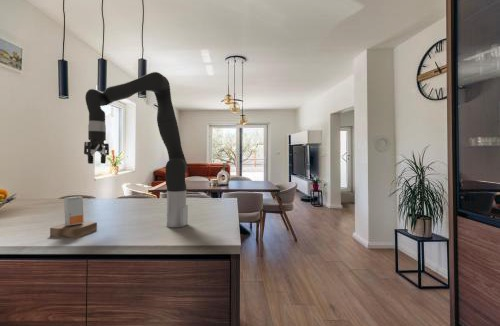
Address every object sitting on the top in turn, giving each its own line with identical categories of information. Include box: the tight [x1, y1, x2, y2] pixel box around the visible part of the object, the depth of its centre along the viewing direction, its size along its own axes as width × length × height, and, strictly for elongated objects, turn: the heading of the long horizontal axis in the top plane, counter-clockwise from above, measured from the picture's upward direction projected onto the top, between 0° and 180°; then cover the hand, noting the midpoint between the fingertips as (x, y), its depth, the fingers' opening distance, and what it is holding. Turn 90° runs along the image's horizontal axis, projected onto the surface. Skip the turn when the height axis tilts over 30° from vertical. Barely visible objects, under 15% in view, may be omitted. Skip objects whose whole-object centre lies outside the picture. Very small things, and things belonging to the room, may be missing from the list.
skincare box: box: [63, 195, 85, 226], centre depth 115 cm, size 6×4×12 cm
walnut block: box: [49, 221, 98, 239], centre depth 114 cm, size 12×12×4 cm
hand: (97, 163), depth 130 cm, fingers open, 8 cm apart
